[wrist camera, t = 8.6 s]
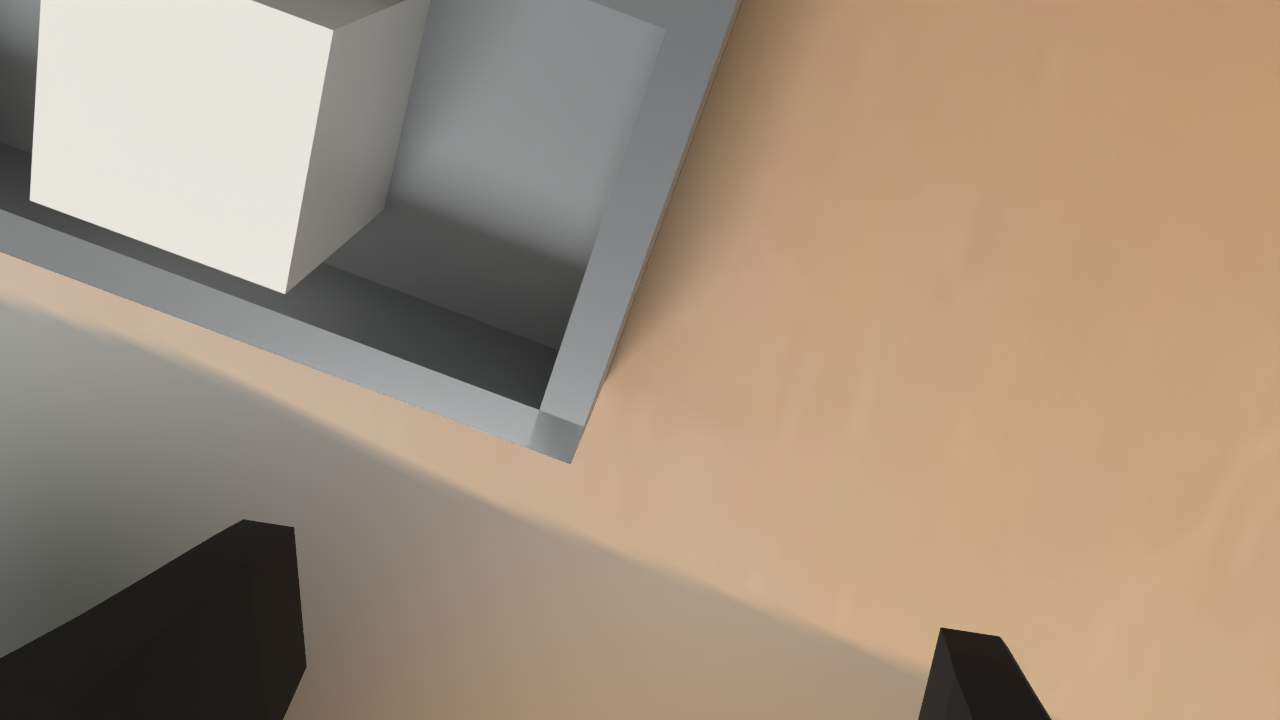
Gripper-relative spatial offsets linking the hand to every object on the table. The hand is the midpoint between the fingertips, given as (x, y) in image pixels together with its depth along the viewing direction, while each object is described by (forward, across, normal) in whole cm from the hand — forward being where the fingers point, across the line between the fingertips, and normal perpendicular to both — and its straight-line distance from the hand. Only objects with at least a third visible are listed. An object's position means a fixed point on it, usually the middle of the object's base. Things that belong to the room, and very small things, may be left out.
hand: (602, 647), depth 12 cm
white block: (+9, +7, -4) cm, 12 cm away
